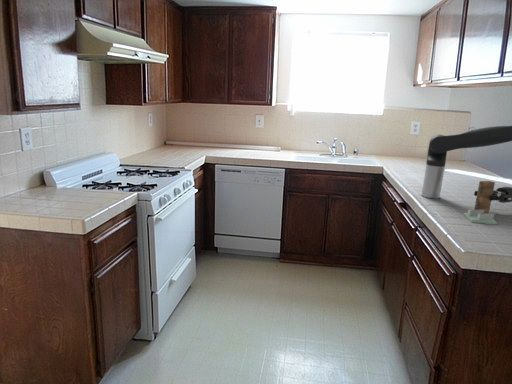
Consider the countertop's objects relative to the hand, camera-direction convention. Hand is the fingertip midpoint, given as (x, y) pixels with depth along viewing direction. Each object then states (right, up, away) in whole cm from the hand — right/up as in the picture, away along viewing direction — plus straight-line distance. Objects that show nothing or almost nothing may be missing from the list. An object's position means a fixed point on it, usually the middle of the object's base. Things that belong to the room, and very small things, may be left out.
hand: (482, 195), depth 188 cm
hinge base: (-6, -11, -9) cm, 15 cm away
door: (+1, -8, +2) cm, 8 cm away
